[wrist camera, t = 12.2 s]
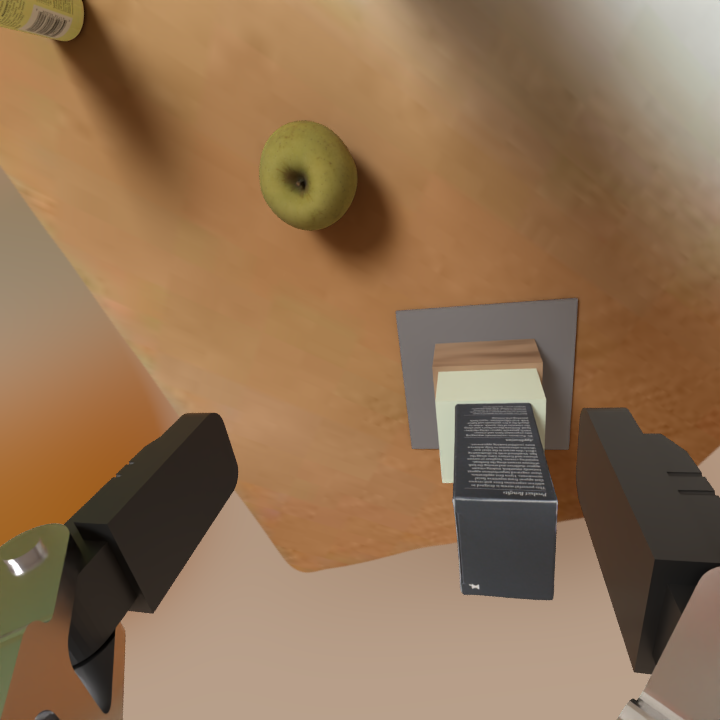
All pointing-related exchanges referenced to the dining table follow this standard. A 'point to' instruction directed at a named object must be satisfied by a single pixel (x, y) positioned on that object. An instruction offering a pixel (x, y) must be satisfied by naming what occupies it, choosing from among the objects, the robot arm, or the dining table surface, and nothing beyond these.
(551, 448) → the mat
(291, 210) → the apple
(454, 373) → the block top
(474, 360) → the block base
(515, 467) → the box
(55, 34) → the tube
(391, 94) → the dining table surface
